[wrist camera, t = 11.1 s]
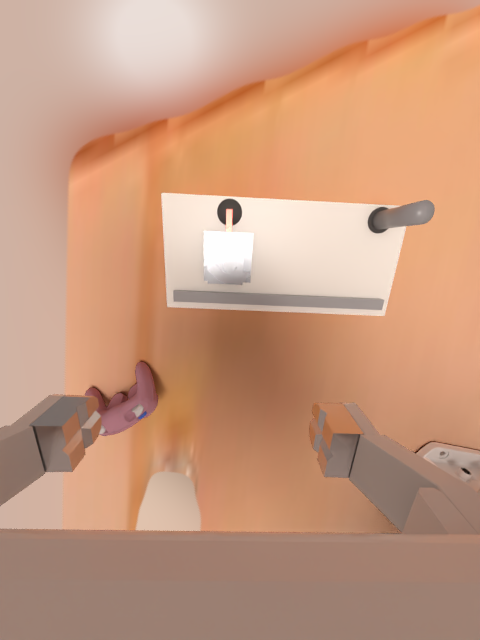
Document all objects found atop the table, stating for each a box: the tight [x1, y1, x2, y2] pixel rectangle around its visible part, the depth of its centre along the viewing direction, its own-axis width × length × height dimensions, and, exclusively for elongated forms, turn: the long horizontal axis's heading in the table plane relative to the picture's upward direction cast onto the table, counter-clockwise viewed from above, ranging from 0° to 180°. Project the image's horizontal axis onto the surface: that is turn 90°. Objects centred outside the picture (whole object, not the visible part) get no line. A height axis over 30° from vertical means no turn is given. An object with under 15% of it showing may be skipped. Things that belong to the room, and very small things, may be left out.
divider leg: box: [204, 209, 253, 285], centre depth 22 cm, size 5×7×6 cm
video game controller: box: [85, 362, 158, 436], centre depth 30 cm, size 10×5×7 cm, turn 118°
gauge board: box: [161, 193, 434, 316], centre depth 24 cm, size 26×12×8 cm, turn 87°
